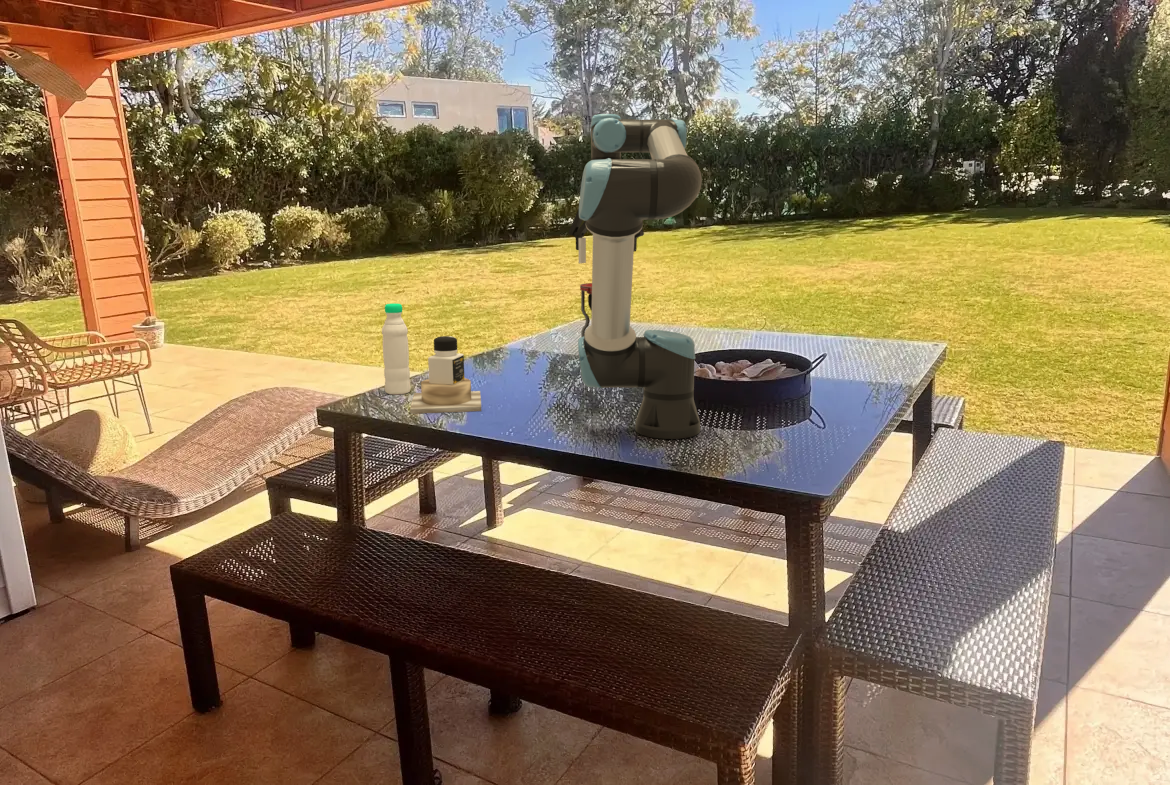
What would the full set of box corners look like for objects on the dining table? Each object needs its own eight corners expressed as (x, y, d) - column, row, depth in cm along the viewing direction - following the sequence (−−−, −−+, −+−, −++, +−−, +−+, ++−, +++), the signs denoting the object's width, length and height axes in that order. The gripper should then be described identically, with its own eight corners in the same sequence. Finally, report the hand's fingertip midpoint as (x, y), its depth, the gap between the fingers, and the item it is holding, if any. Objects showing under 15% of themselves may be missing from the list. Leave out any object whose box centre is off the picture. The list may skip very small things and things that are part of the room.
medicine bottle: (453, 385, 214) (452, 339, 212) (428, 384, 216) (426, 338, 214) (465, 379, 221) (463, 335, 218) (440, 378, 223) (438, 334, 220)
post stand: (481, 411, 213) (480, 388, 211) (410, 413, 210) (408, 390, 209) (480, 395, 230) (479, 374, 229) (414, 397, 228) (413, 376, 226)
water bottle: (415, 392, 234) (411, 303, 228) (394, 396, 229) (389, 306, 223) (401, 388, 238) (396, 301, 233) (380, 392, 233) (375, 304, 228)
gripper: (657, 178, 206) (656, 264, 211) (569, 180, 217) (569, 261, 222) (645, 178, 200) (644, 266, 205) (555, 179, 211) (556, 263, 216)
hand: (605, 264), depth 213 cm, fingers open, 13 cm apart
